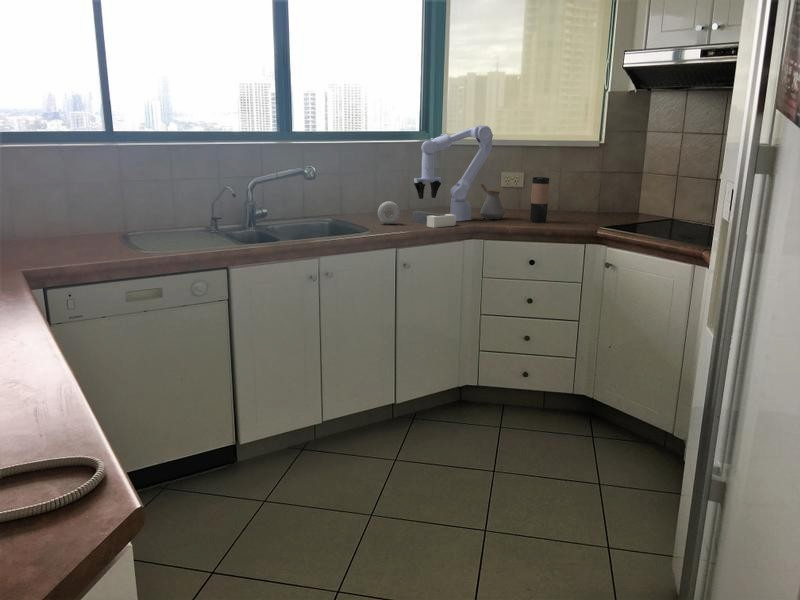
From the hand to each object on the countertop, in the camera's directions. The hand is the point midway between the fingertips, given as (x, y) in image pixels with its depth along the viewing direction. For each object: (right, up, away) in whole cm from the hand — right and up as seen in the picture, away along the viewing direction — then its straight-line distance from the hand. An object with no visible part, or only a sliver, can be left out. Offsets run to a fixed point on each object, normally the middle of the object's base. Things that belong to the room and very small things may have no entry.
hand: (427, 198), depth 305 cm
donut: (-17, -13, -12) cm, 25 cm away
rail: (0, -13, -9) cm, 15 cm away
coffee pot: (+30, -7, +15) cm, 34 cm away
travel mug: (+51, -11, +1) cm, 52 cm away
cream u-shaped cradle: (+5, -14, -15) cm, 21 cm away
